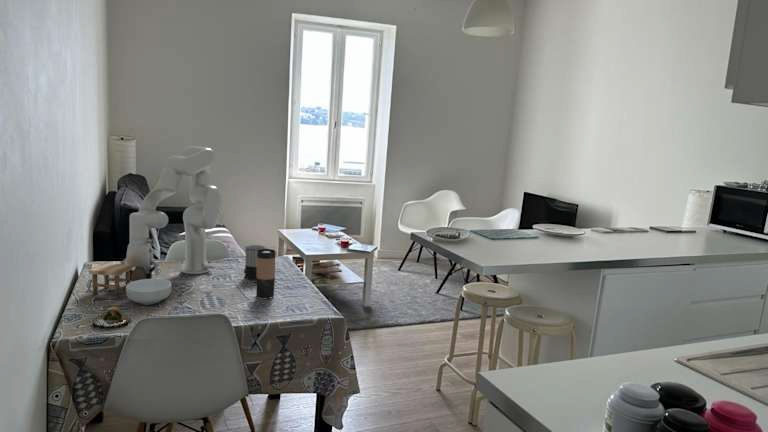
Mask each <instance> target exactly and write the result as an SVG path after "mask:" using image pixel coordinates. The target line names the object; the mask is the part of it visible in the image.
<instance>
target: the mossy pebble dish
mask: <svg viewBox="0 0 768 432" xmlns="http://www.w3.org/2000/svg"><path fill="white" fill-rule="evenodd" d="M102 319H103V320H104V321H105V322H106V323H107V324H114V323H118V322H123V320H126V321H125V323H122V324H123V325H124V324H126V325H127V324H128V323H129V322H130V323H131V316H129V315H127V314H124V313H121V309H120V308H119V307H117V306H111V307H109V308H108V309H106V311H105V314H102V313H101V314H100V315H98V317H96V318H94V319H93V321H92V325H93V324H94V325H93V326H95V325H96V326H98V327H101V325H97V324H96V322H98V321H99V320H102ZM130 323H129V324H130ZM122 324H119V325H120V326H123V325H122ZM119 325H113V326H114V327H119ZM104 327H105V328H113V327H112V326H104ZM104 327H103V328H104Z"/></svg>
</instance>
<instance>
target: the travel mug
mask: <svg viewBox="0 0 768 432" xmlns="http://www.w3.org/2000/svg"><path fill="white" fill-rule="evenodd" d="M275 279H276V250H275V249H271V248H270V249H269V248H267V249H261V250H258V251H257V276H256V281H255V282H256V285H255V286H256V298H257V297H259V298H270V297H273V296H274V295H275V283H276V282H275V281H276V280H275ZM259 298H258V299H259ZM273 298H274V297H273Z"/></svg>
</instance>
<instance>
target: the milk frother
mask: <svg viewBox="0 0 768 432" xmlns="http://www.w3.org/2000/svg"><path fill="white" fill-rule="evenodd" d="M244 249H245V267H244V268H243V270H244V272H245V273H244V278H245V279H246V278H249V279H248V280H251V279H256V276H257V251H258V250H261V249H268V248H265V246H264V245H257V244H256V245H255V244H250V245H247V246H245V247H244Z"/></svg>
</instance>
